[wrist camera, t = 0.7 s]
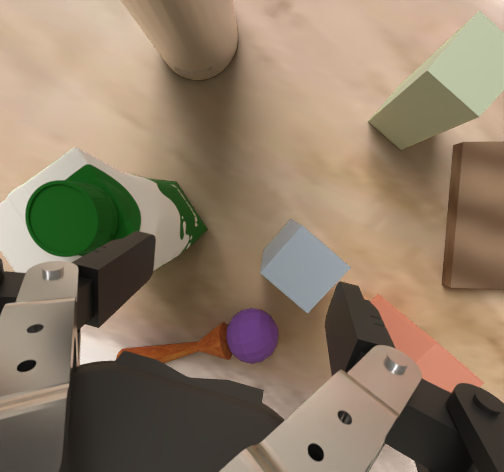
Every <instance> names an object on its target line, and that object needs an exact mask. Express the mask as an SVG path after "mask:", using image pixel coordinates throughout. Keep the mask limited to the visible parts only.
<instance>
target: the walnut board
mask: <svg viewBox="0 0 504 472" xmlns="http://www.w3.org/2000/svg"><path fill="white" fill-rule="evenodd" d="M442 284H443V285H446V286H448V287H450V288H478V289H504V142H462V143H459V144H456V145H453V157H452V169H451V181H450V193H449V205H448V217H447V229H446V241H445V253H444V265H443V277H442Z"/></svg>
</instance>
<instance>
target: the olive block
mask: <svg viewBox="0 0 504 472" xmlns="http://www.w3.org/2000/svg"><path fill="white" fill-rule="evenodd" d="M503 91H504V32H503V31H502V30H501V29H500V28H498V27H497V26H496V25H495V24H494V23H493V22H492V21H491V20H490V19H488V18H487V17H486V16H485V15H484V14H483V13H482V12H481V11H479V12H478V13H476V14H475V15H474V16H473V17H472V18H471V19H470V20H469V21H468V22H467V23H466V24H465V25H464V26H463V27H461V28H460V29H459V30H458V31H457V32H456V33H455V34H454V35H453V36H452V37H451V38H450V39H449V40H448V41H446V42H445V43H444V44H443V45H442V46H441V47H440V48H439V49H438V50H437V51H436V52H435V53H434V54H433V55H431V56H430V57H429V58H428V59H427V60H426V61H425V62H424V63H423V64H422V65H421V66H420V67H419V68H418V69H417V70H415V71H414V72H413V73H412V74H411V75H410V76H409V77H408V78H407V79H406V80H405V81H404V82H403V83H402V84H400V85H399V86H398V88H397V89H396V90H395V91H394V92H393V93H392V95H391V96H390V97H389V98H388V99H387V100H386V101H385V103H384V104H383V105H382V106H381V107H380V108H379V109H378V111H377V112H376V113H375V114H374V115H373V116H372V117H371V119H370V120H369V121H368V122H369V123H370V124H372V125H373V126H374V127H375V128H376V129H377V130H378V131H380V132H381V133H382V134H383V135H384V136H385V137H386V138H387V139H389V140H390V141H391V142H392V143H393V144H394V145H395V146H397V147H398V148H399V149H400V150H403V149H405V148H407V147H410V146H412V145H414V144H417V143H419V142H421V141H424V140H426V139H428V138H431V137H433V136H435V135H438V134H440V133H442V132H445V131H447V130H449V129H452V128H454V127H456V126H459V125H461V124H463V123H466V122H468V121H470V120H473V119H475V118H477V117H479V116H480V115H481V114H482V113H483V112H484V111H485V110H486V109H487V108H488V107H489V106H490V105H491V104H492V102H493V101H494V100H495V99H496V98H497V97H498V96H499V95H500V94H501V93H502V92H503Z"/></svg>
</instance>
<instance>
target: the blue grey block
mask: <svg viewBox="0 0 504 472" xmlns="http://www.w3.org/2000/svg"><path fill="white" fill-rule="evenodd" d="M350 268H351V267H350V266H348V265H347V264H346V263H345V262H344V261H343V260H342V259H340V258H339V257H338V256H337V255H336V254H335V253H333V252H332V251H331V250H330V249H329V248H328V247H326V246H325V245H324V244H323V243H322V242H321V241H320V240H318V239H317V238H316V237H315V236H314V235H313V234H311V233H310V232H309V231H308V230H307V229H306V228H304V227H303V226H302V225H300V224H299V223H297V222H295V221H294V220H292V219H290V220H289V221H288V222H287V224H286V225H285V226H284V227H283V228H282V229H281V230H280V232H279V233H278V234H277V235H276V236H275V237H274V238H273V240H272V241H271V242H270V243H269V244H268V245H267V246H266V248H265V249H264V250H263V257H262V263H261V270H260V273H261V274H262V275H263V276H264V277H265V278H266V279H268V280H269V281H270V282H271V283H272V284H273V285H275V286H276V287H277V288H278V289H279V290H280V291H282V292H283V293H284V294H285V295H286V296H287V297H289V298H290V299H291V300H292V301H293V302H294V303H296V304H297V305H298V306H299V307H300V308H301V309H303V310H304V311H305V312H306V313H307V314H308V313H309V312H310V310H311V309H312V308H313V307H314V306H315V305H316V304H317V303H318V302H319V301H320V300H321V299H322V298H323V297H324V296H325V294H326V293H327V292H328V291H329V290H330V289H331V288H332V287H333V286H334V285H335V284H336V283H337V282H338V281H339V280H340V278H341V277H342V276H343V275H344V274H345V273H346V272H347V271H348V270H349V269H350Z"/></svg>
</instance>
